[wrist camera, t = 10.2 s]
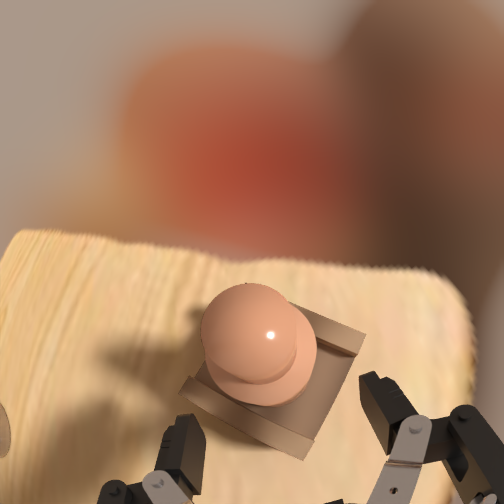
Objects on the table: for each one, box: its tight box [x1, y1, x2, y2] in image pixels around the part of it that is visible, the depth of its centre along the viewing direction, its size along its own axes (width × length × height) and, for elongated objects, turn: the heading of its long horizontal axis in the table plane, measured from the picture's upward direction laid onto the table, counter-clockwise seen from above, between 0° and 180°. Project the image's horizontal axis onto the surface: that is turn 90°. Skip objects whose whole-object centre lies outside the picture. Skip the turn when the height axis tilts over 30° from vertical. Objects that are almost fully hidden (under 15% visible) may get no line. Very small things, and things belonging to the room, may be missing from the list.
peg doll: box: [201, 283, 317, 407], centre depth 15 cm, size 5×5×12 cm
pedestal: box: [178, 283, 366, 461], centre depth 22 cm, size 10×10×6 cm
